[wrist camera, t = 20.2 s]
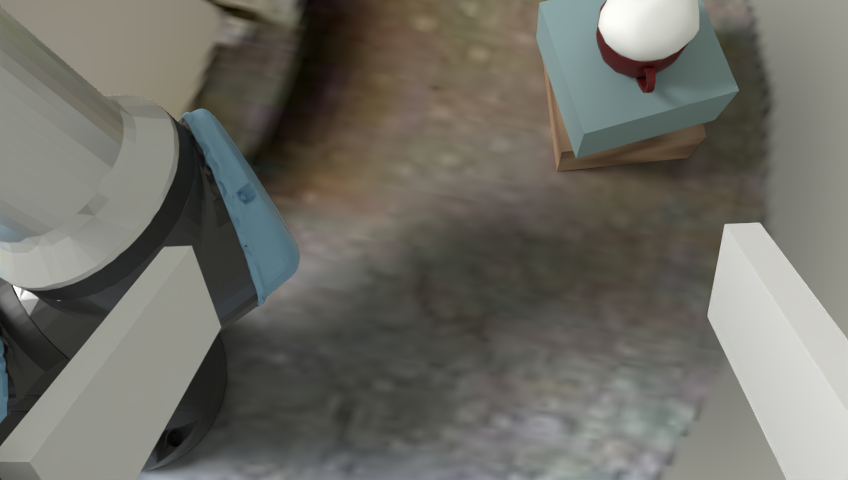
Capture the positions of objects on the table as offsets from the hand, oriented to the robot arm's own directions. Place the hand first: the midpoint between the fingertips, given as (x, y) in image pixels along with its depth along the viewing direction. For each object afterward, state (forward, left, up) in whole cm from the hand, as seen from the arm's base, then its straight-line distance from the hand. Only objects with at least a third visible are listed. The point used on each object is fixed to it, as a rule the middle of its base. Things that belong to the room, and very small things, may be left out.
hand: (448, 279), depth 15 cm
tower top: (+12, +21, -31) cm, 39 cm away
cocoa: (+12, +21, -26) cm, 35 cm away
